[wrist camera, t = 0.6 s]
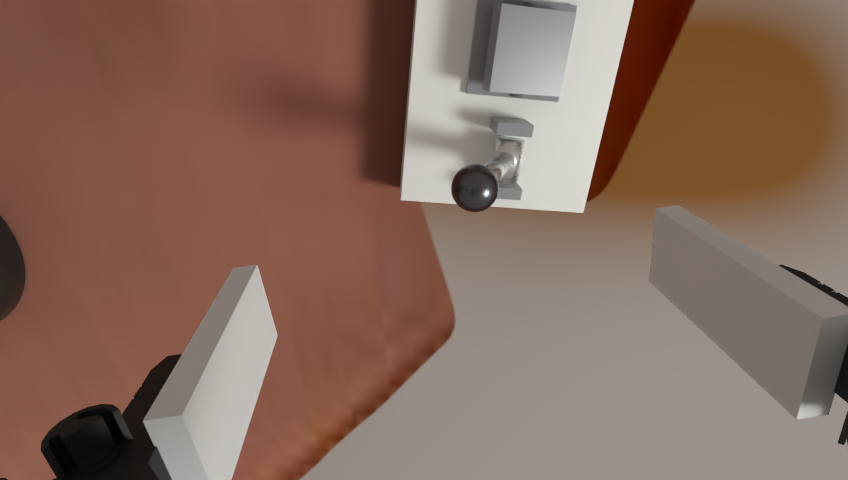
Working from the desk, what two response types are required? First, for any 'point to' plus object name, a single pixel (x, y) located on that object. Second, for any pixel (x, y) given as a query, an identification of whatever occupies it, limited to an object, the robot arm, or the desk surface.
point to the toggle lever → (488, 175)
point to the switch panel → (507, 104)
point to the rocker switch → (527, 50)
